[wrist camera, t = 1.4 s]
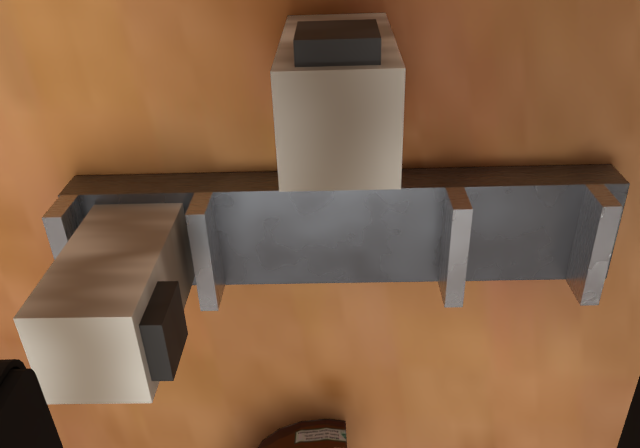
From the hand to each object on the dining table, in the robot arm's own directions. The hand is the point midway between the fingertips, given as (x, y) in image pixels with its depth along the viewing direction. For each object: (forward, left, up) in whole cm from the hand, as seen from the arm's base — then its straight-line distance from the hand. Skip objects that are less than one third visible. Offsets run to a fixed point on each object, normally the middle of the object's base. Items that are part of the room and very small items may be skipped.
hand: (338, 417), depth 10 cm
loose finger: (0, 0, -19) cm, 19 cm away
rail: (0, +7, -19) cm, 20 cm away
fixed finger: (+8, +7, -17) cm, 20 cm away
